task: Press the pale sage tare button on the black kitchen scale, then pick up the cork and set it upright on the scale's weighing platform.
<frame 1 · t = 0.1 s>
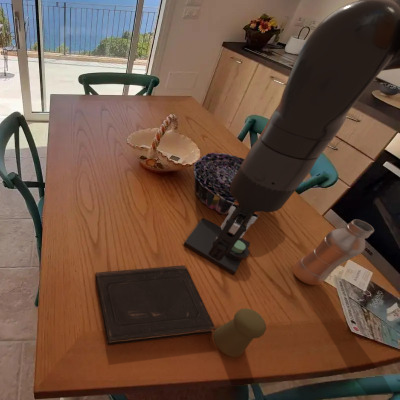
hand: (222, 242, 49), 21 cm above the table, tool pointing down, fingers open, 8 cm apart
scale: (215, 245, 76), on the table
tare button: (237, 246, 71), point 4 cm above the table, slide at 0.1 cm
plastic bottle: (303, 277, 70), on the table
hardcover book: (149, 303, 62), on the table
cork: (227, 341, 57), on the table
decorative bowl: (224, 195, 92), on the table
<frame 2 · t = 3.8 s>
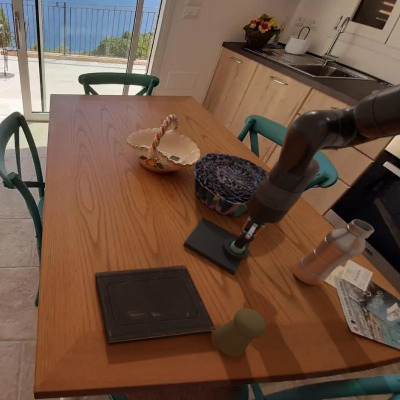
hand: (238, 245, 71), 4 cm above the table, tool pointing down, fingers closed
tare button: (237, 247, 72), point 3 cm above the table, slide at -0.3 cm, touching gripper
everything else where it was.
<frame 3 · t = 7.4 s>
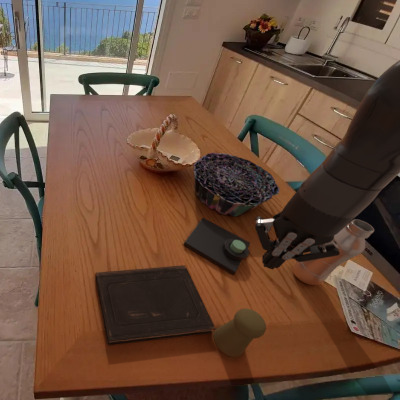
hand: (267, 264, 51), 17 cm above the table, tool pointing down, fingers closed
tare button: (237, 246, 71), point 4 cm above the table, slide at 0.1 cm
everything else where it was.
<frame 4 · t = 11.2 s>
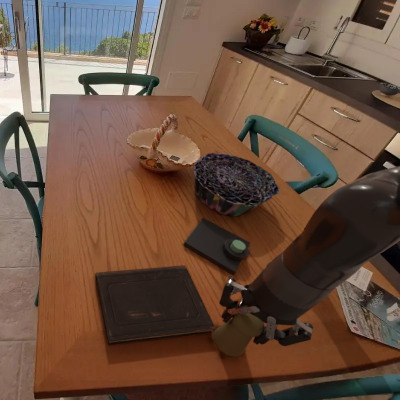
hand: (240, 328, 52), 6 cm above the table, tool pointing down, fingers closed on cork, 5 cm apart
cork: (228, 341, 57), on the table, touching gripper
everything else where it was.
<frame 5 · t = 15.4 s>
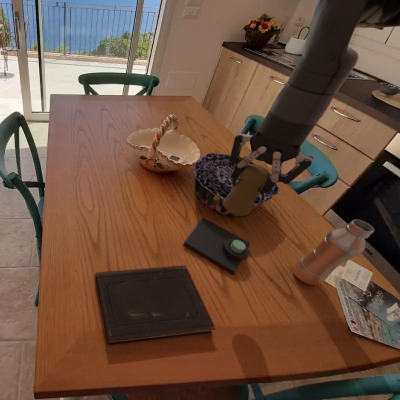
hand: (248, 185, 59), 23 cm above the table, tool pointing down, fingers closed on cork, 5 cm apart
cork: (236, 207, 63), point 17 cm above the table, touching gripper
everything else where it was.
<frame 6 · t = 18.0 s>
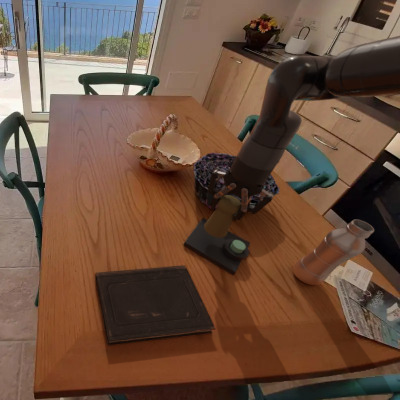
hand: (224, 213, 69), 11 cm above the table, tool pointing down, fingers closed on cork, 5 cm apart
cork: (215, 229, 73), point 5 cm above the table, touching gripper
everything else where it was.
when the fingers open (8 cm above the table, at t = 19.7 s): cork stays where it is, resting on scale.
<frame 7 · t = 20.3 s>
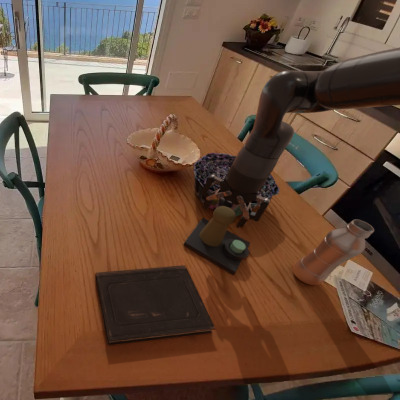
hand: (221, 217, 70), 10 cm above the table, tool pointing down, fingers open, 8 cm apart
cork: (210, 238, 76), point 1 cm above the table, touching scale
everything else where it was.
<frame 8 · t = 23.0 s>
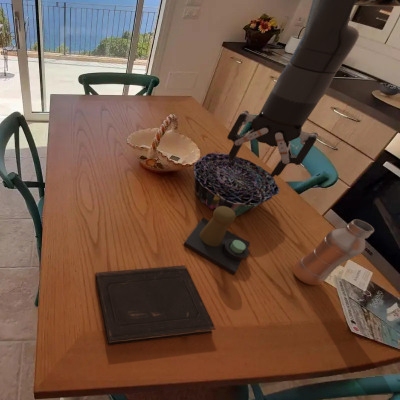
hand: (251, 166, 59), 26 cm above the table, tool pointing down, fingers open, 8 cm apart
nothing on the table moved.
at the end: tare button pushed in 0.9 cm at the most during the clip, back to where it started at the end; cork inside the target area on the scale (0.3 cm from its centre), point 1.2 cm above the scale's base; cork tilted 0° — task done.
